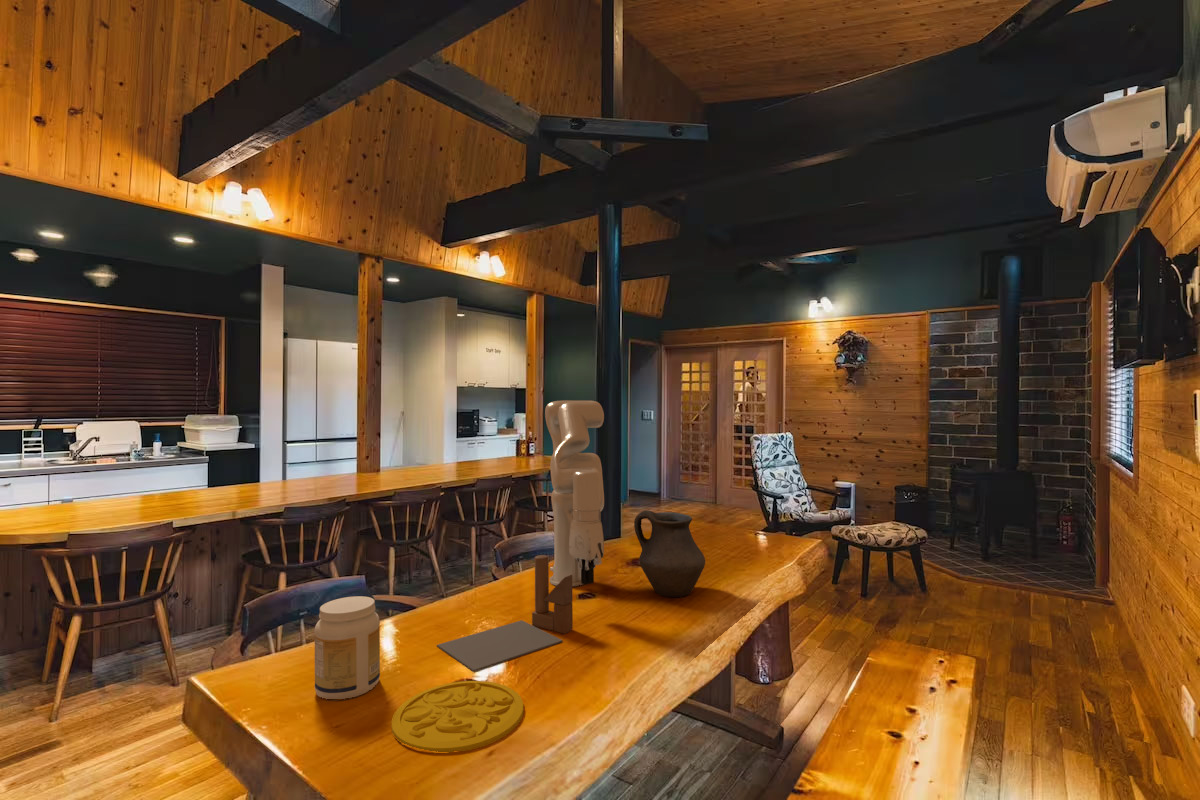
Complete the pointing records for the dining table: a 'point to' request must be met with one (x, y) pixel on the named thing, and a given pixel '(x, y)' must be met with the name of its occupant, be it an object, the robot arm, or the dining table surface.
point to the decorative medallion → (458, 716)
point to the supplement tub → (347, 648)
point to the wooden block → (552, 600)
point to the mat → (498, 645)
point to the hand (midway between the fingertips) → (587, 583)
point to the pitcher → (669, 553)
